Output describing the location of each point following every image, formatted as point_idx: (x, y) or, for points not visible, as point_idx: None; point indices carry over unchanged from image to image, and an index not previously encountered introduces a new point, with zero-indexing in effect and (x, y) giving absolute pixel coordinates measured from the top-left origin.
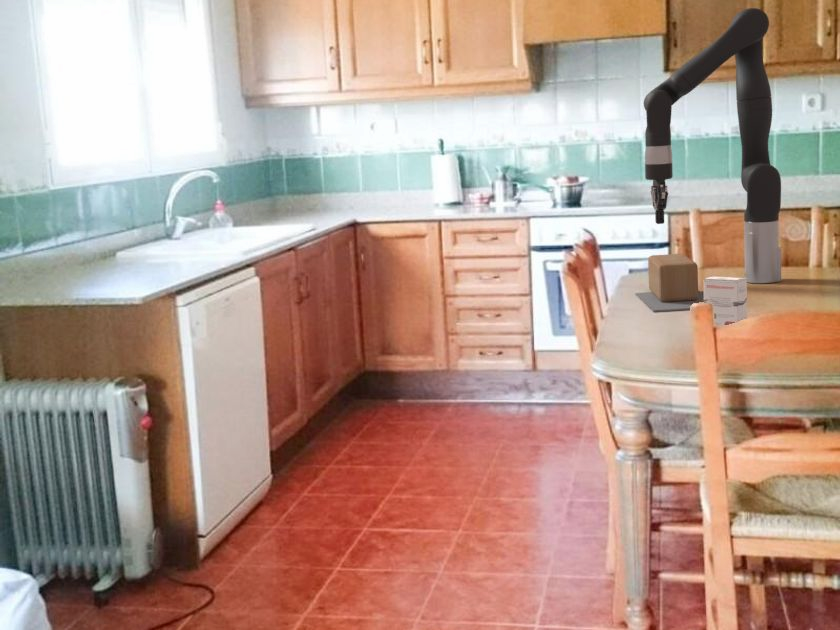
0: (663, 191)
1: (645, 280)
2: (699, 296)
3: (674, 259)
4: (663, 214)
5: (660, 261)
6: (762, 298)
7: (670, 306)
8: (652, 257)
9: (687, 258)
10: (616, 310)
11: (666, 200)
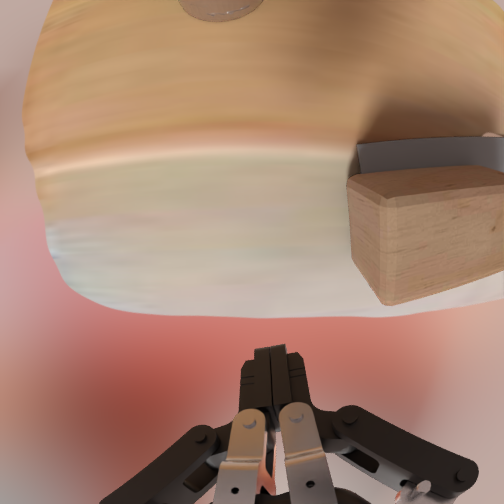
0: (453, 500)
1: (163, 273)
2: (444, 153)
3: (486, 233)
4: (291, 383)
5: (493, 267)
6: (448, 41)
7: None
8: (423, 294)
9: (486, 196)
10: (477, 297)
11: (423, 442)
